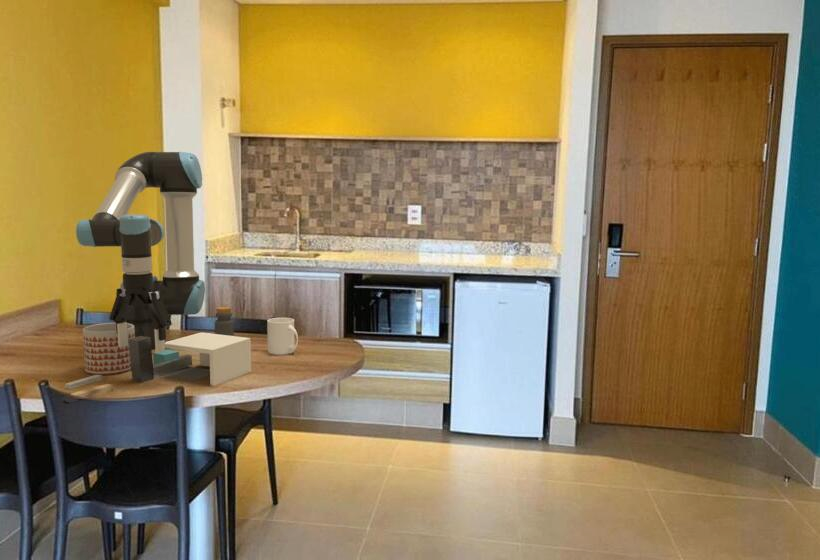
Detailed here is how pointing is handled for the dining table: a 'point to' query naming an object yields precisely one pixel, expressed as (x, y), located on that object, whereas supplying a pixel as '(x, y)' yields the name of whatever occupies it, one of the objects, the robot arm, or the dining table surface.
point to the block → (164, 356)
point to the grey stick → (83, 381)
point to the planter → (106, 349)
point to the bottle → (224, 321)
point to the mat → (189, 373)
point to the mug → (281, 336)
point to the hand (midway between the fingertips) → (141, 348)
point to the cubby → (218, 354)
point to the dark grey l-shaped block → (151, 361)
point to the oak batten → (94, 391)
